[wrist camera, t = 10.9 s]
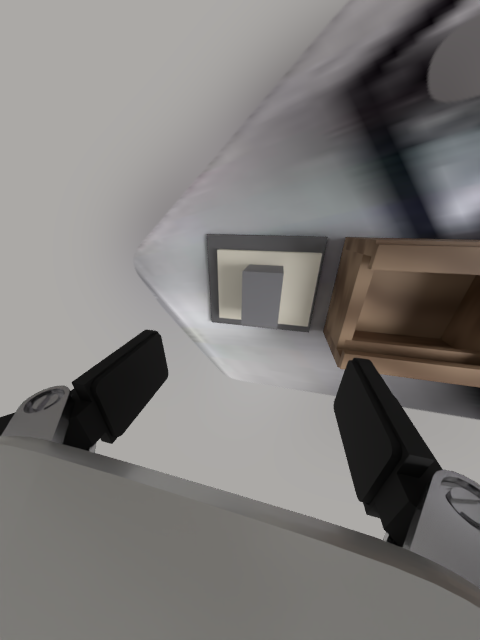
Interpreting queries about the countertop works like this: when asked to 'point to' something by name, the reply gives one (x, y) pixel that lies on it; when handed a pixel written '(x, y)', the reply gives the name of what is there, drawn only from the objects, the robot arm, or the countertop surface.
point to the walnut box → (408, 308)
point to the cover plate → (291, 282)
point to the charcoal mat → (258, 244)
